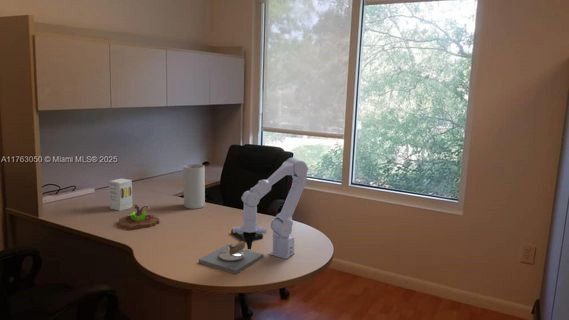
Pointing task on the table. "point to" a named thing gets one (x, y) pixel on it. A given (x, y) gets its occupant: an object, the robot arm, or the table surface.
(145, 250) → the table surface
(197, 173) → the cylinder vase
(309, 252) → the table surface
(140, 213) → the plant
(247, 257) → the dial panel
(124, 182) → the supplement box
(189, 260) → the table surface
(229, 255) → the dial
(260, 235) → the disk drive
